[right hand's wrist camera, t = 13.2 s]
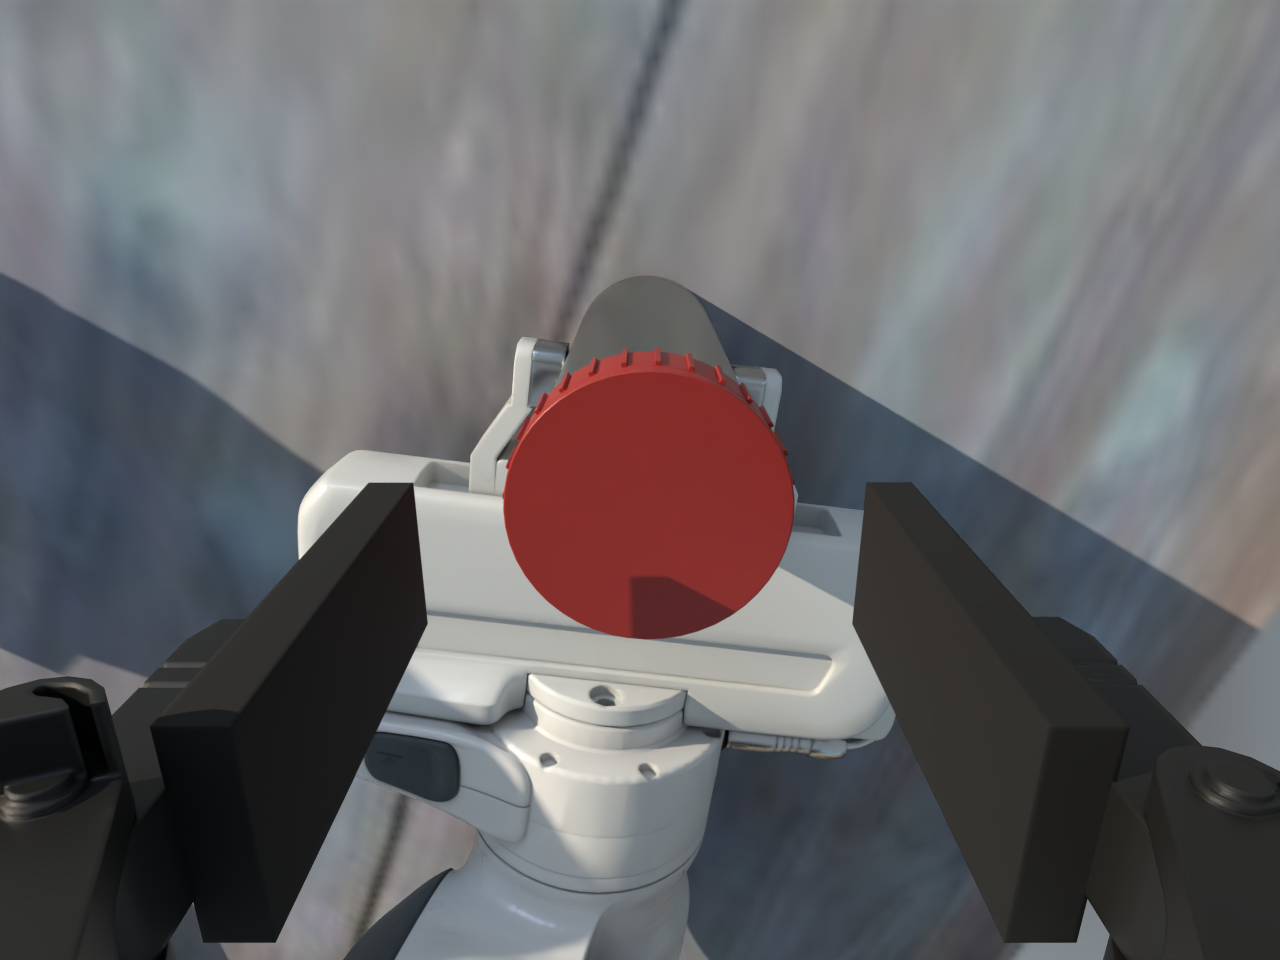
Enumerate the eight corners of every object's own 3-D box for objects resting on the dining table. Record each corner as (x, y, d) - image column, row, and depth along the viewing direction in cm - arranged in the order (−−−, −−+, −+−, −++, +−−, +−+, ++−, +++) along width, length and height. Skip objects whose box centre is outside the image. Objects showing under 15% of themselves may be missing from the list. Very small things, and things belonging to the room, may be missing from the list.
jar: (620, 433, 32) (599, 658, 17) (552, 318, 30) (467, 455, 15) (737, 371, 31) (822, 551, 16) (674, 249, 29) (705, 326, 15)
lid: (597, 640, 18) (593, 685, 17) (460, 429, 17) (440, 457, 15) (827, 529, 17) (846, 567, 16) (707, 294, 16) (714, 309, 14)
